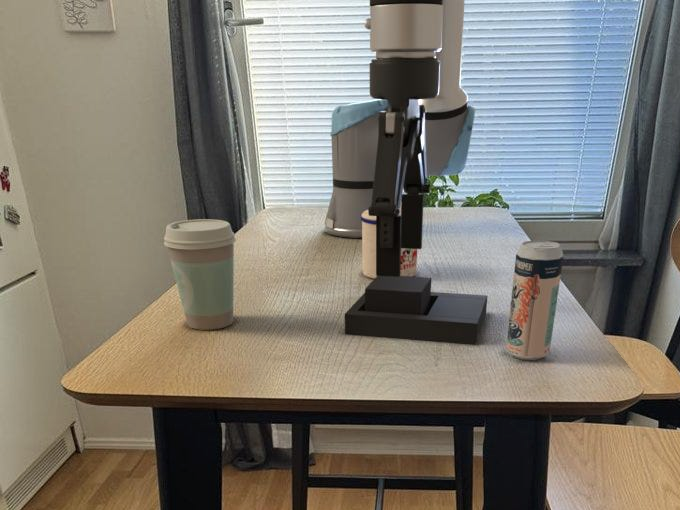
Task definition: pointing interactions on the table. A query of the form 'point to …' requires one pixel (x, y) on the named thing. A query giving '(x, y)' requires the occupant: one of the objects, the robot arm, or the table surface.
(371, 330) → the black rectangular tray
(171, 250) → the coffee cup
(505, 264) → the table surface
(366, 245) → the teacup with lid
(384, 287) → the matte black cube
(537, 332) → the beer can
